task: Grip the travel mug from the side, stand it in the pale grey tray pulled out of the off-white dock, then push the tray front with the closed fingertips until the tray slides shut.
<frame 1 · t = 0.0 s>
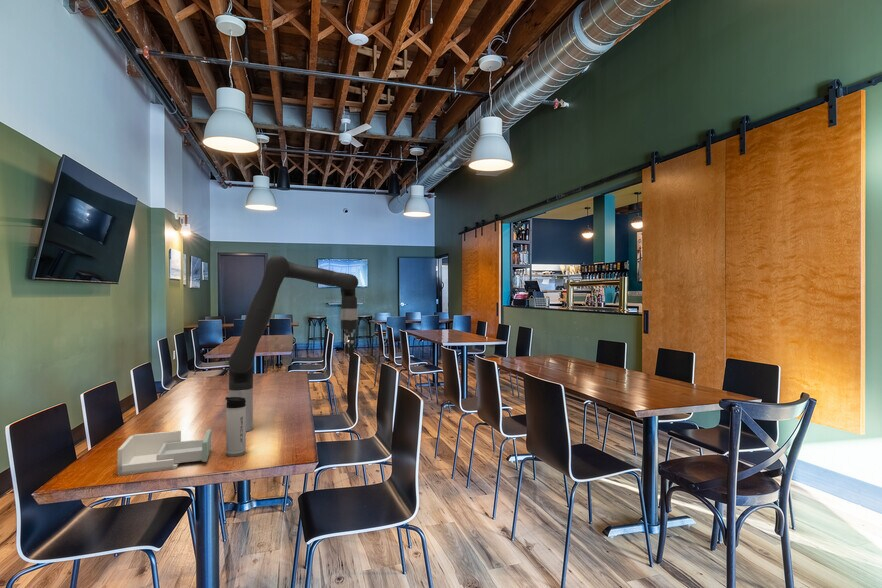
hand: (349, 354, 211), 29 cm above the table, tool pointing down, fingers open, 8 cm apart
travel mug: (235, 454, 164), on the table
dock: (153, 463, 155), on the table
tray: (185, 446, 158), point 4 cm above the table, slide at 8.0 cm
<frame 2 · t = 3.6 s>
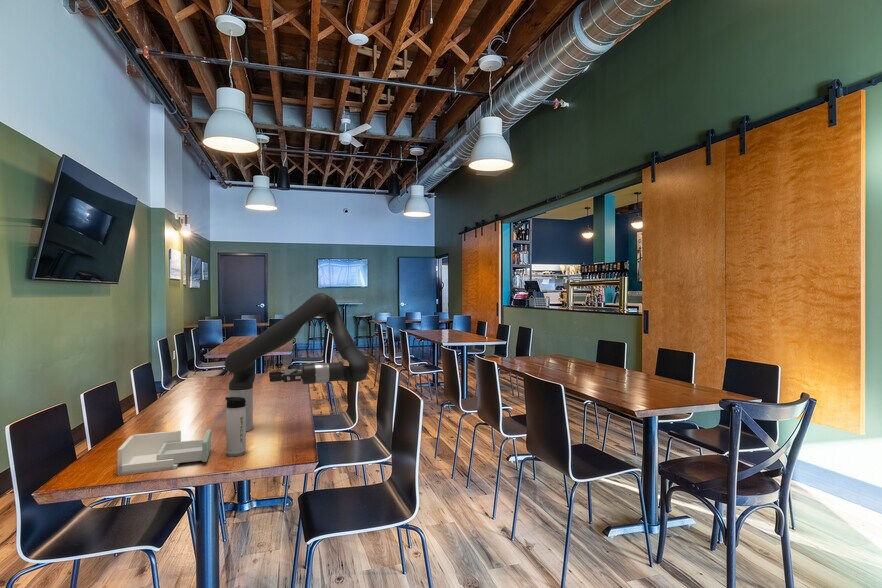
hand: (269, 377, 168), 26 cm above the table, tool horizontal, fingers open, 8 cm apart
nothing on the table moved.
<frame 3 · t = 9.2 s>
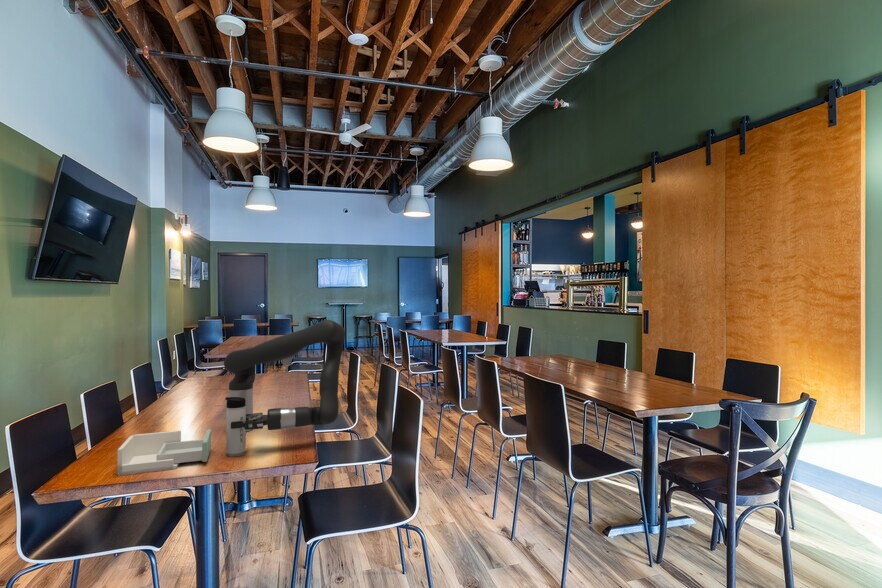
hand: (231, 423, 164), 11 cm above the table, tool horizontal, fingers closed on travel mug, 6 cm apart
travel mug: (235, 454, 164), on the table, touching gripper
everything else where it was.
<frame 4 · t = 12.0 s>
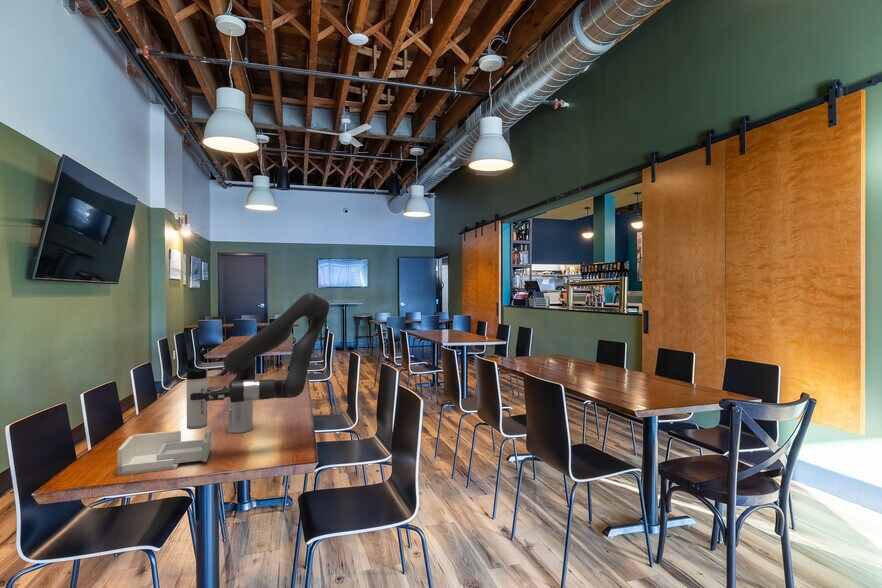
hand: (191, 395, 159), 22 cm above the table, tool horizontal, fingers closed on travel mug, 6 cm apart
travel mug: (196, 427, 159), point 11 cm above the table, touching gripper
everything else where it was.
when the fingers open (14 cm above the table, at t = 14.7 s): travel mug drops 1 cm, resting on tray.
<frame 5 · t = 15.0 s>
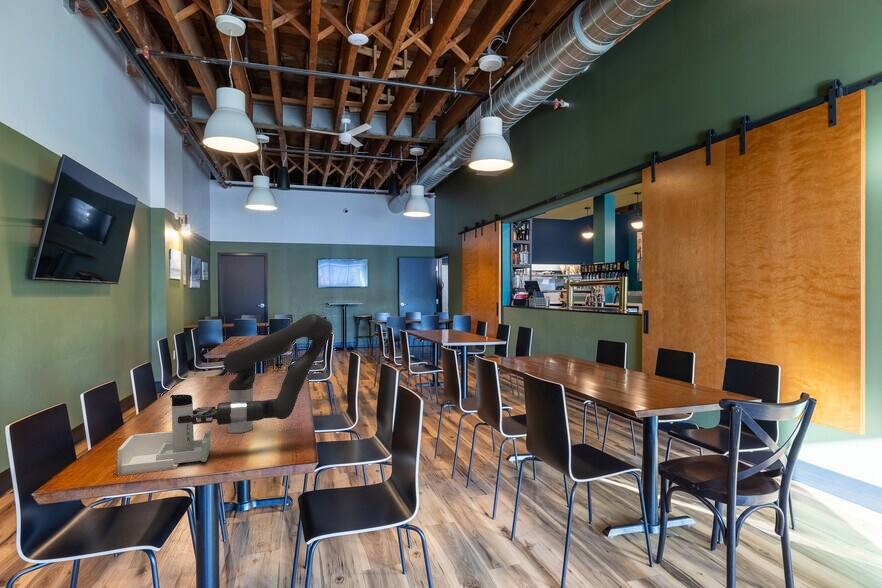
hand: (179, 417, 158), 15 cm above the table, tool horizontal, fingers open, 8 cm apart
travel mug: (183, 454, 158), point 2 cm above the table, touching tray
tray: (184, 446, 158), point 4 cm above the table, slide at 7.9 cm, touching travel mug
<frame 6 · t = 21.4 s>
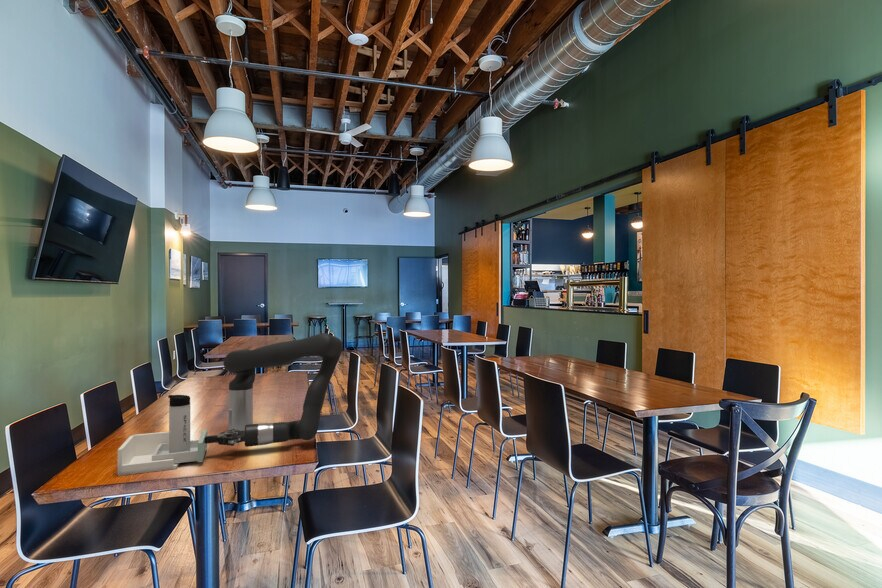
hand: (205, 439, 160), 6 cm above the table, tool horizontal, fingers closed
travel mug: (179, 454, 157), point 2 cm above the table, touching tray
tray: (180, 447, 158), point 4 cm above the table, slide at 6.7 cm, touching gripper, travel mug
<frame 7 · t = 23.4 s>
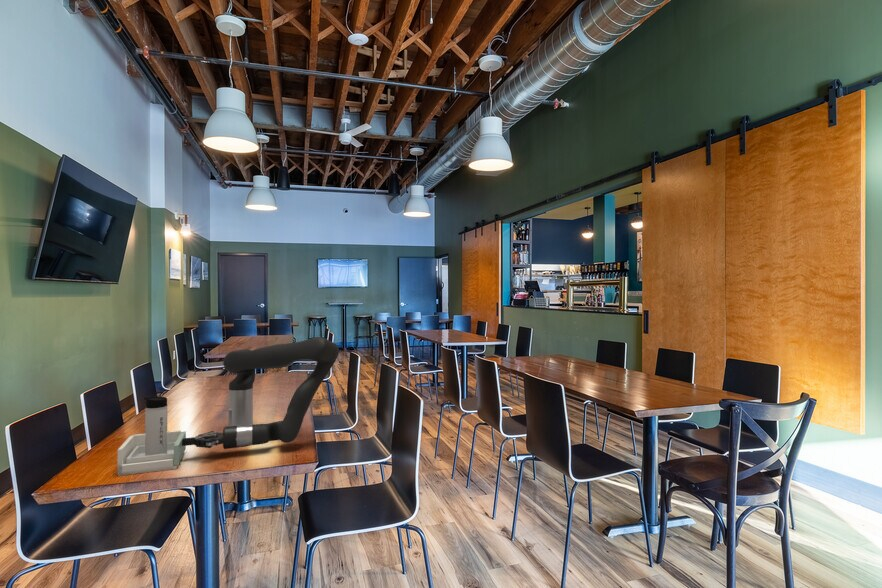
hand: (182, 442, 158), 6 cm above the table, tool horizontal, fingers closed
travel mug: (155, 457, 155), point 2 cm above the table, touching tray
tray: (157, 449, 155), point 4 cm above the table, slide at -0.2 cm, touching gripper, travel mug
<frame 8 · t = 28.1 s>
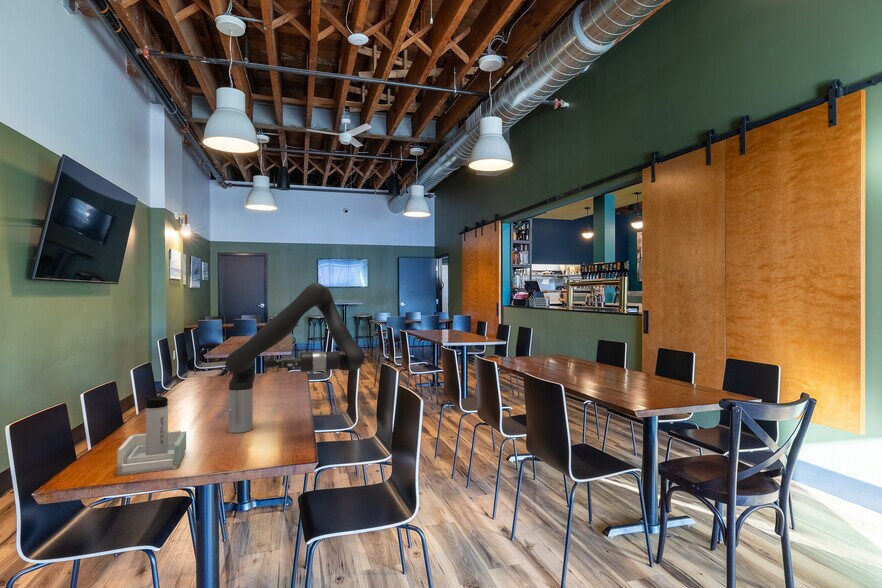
hand: (265, 364, 175), 30 cm above the table, tool horizontal, fingers closed
tray: (157, 449, 155), point 4 cm above the table, slide at 0.0 cm, touching travel mug
everything else where it was.
at the end: tray slide at 0.0 cm; travel mug inside the target area on the dock (0.9 cm from its centre), point 1.9 cm above the dock's base; travel mug tilted 0° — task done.
